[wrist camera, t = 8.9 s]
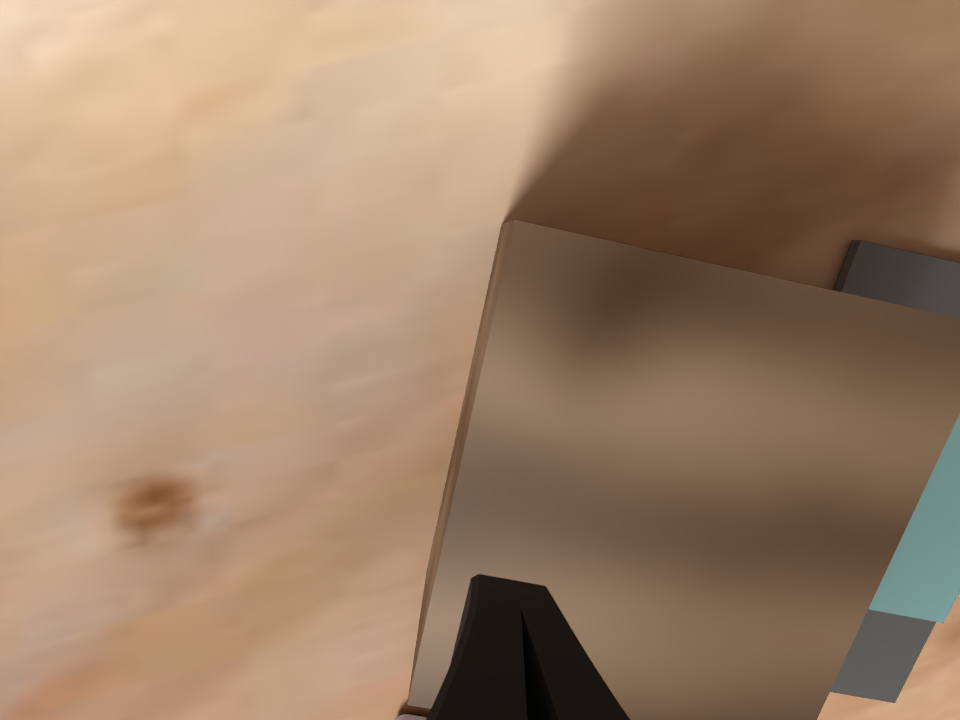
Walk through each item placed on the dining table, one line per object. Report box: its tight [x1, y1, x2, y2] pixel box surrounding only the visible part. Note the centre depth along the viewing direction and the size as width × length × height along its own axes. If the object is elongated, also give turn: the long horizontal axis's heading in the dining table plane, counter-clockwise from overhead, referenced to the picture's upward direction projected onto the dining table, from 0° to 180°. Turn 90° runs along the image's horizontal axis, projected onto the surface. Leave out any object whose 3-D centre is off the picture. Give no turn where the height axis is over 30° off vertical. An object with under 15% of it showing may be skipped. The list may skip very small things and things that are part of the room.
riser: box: [407, 220, 960, 720], centre depth 16 cm, size 14×12×6 cm
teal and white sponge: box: [869, 414, 960, 623], centre depth 19 cm, size 8×5×2 cm, turn 168°
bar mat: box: [830, 240, 960, 703], centre depth 20 cm, size 18×9×1 cm, turn 168°
